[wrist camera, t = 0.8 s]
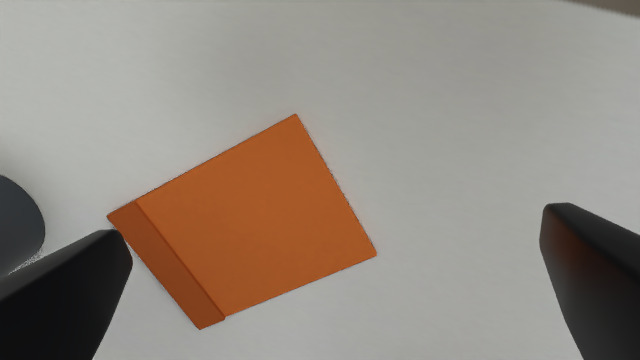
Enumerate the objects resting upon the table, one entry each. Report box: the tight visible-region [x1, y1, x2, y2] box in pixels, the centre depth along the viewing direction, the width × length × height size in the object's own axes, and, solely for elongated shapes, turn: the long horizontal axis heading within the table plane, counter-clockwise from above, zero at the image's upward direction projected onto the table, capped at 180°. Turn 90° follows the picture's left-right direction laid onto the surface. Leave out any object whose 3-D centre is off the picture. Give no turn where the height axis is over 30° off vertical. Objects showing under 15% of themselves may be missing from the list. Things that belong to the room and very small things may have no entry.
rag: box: [107, 114, 377, 330], centre depth 26 cm, size 10×14×1 cm
